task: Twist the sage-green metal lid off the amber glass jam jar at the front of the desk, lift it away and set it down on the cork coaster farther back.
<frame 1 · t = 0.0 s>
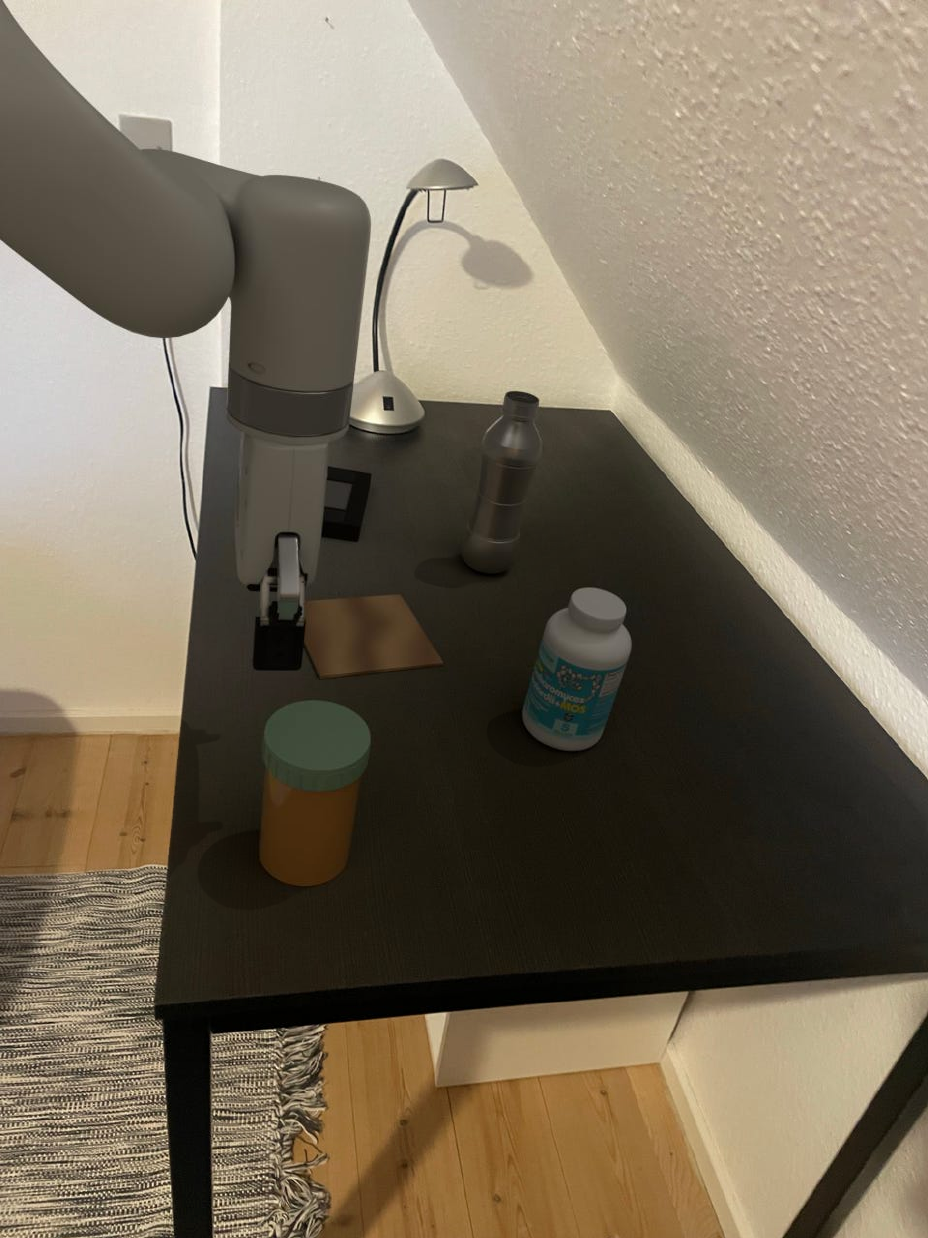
hand: (272, 626, 67), 13 cm above the table, tool pointing down, fingers open, 9 cm apart
jam jar: (304, 851, 68), on the table
jam lid: (317, 738, 62), point 11 cm above the table, screwed on, not yet turned
plastic bottle: (485, 567, 107), on the table
coaster: (362, 635, 91), on the table
pill bottle: (560, 729, 85), on the table
vhs tape: (332, 509, 112), on the table
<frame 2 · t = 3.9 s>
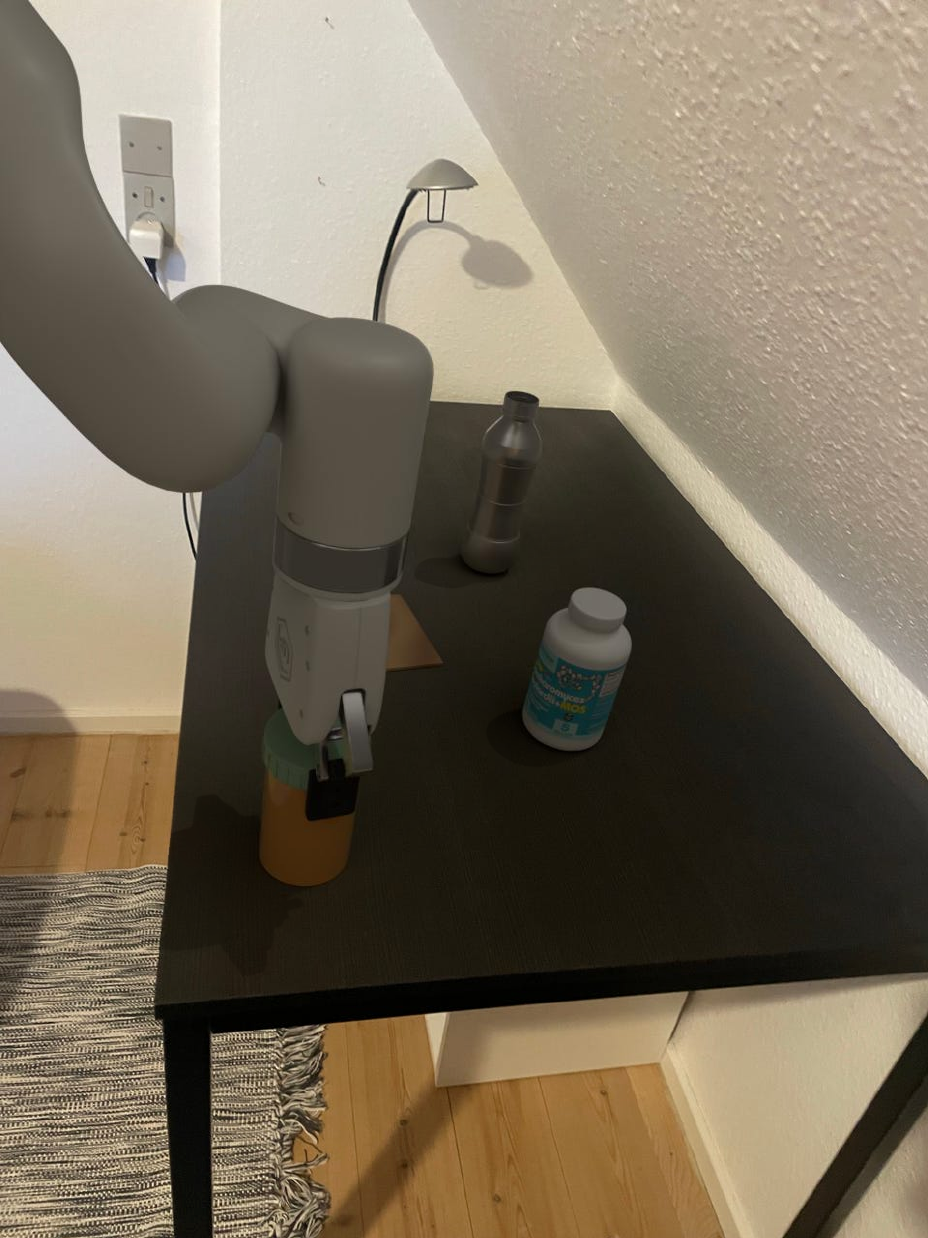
hand: (313, 772, 63), 8 cm above the table, tool pointing down, fingers closed on jam lid, 7 cm apart
jam lid: (317, 738, 62), point 11 cm above the table, screwed on, not yet turned, touching gripper
everything else where it was.
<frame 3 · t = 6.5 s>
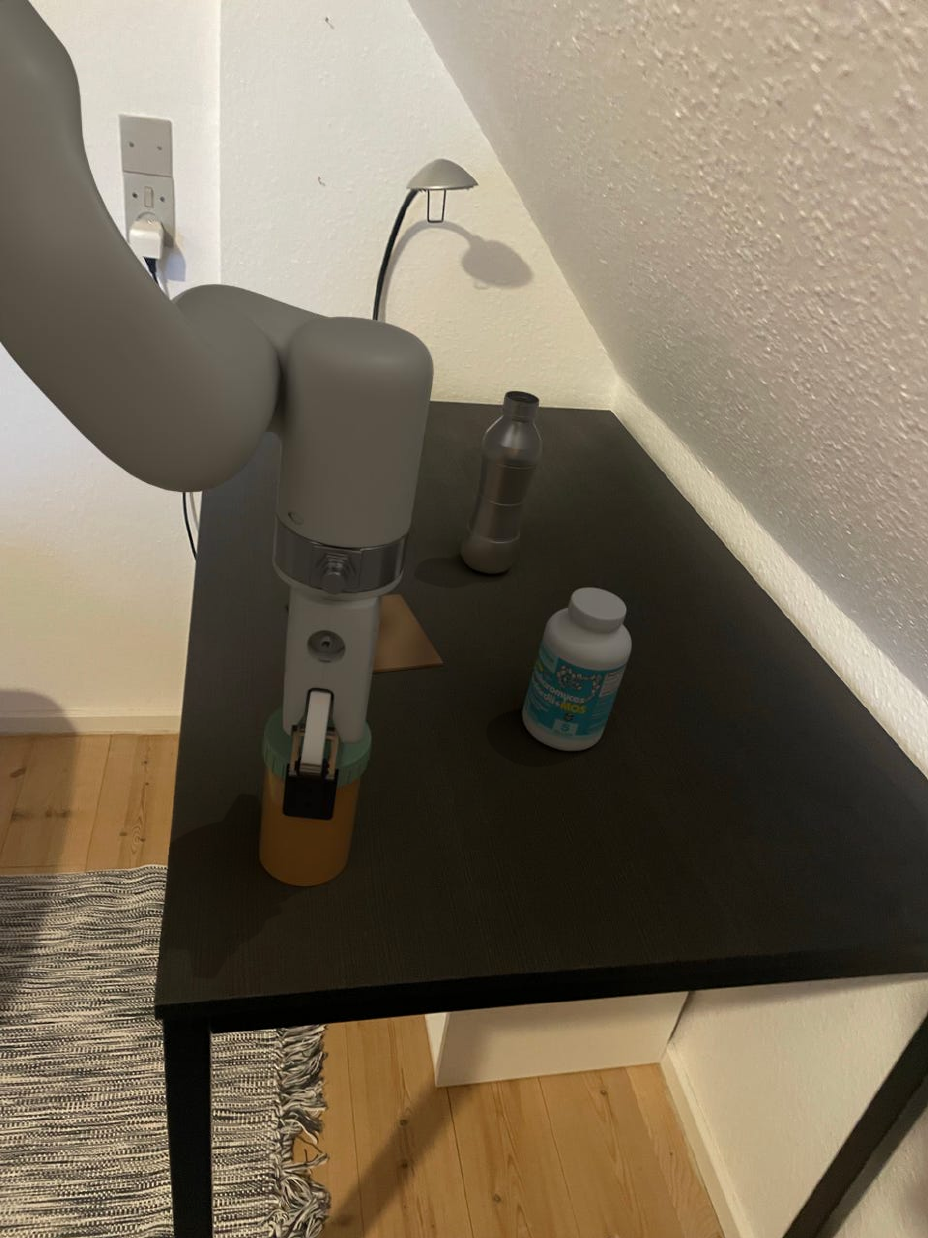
hand: (314, 772, 63), 8 cm above the table, tool pointing down, fingers closed on jam lid, 6 cm apart
jam lid: (318, 736, 62), point 11 cm above the table, off its thread, touching gripper
everything else where it was.
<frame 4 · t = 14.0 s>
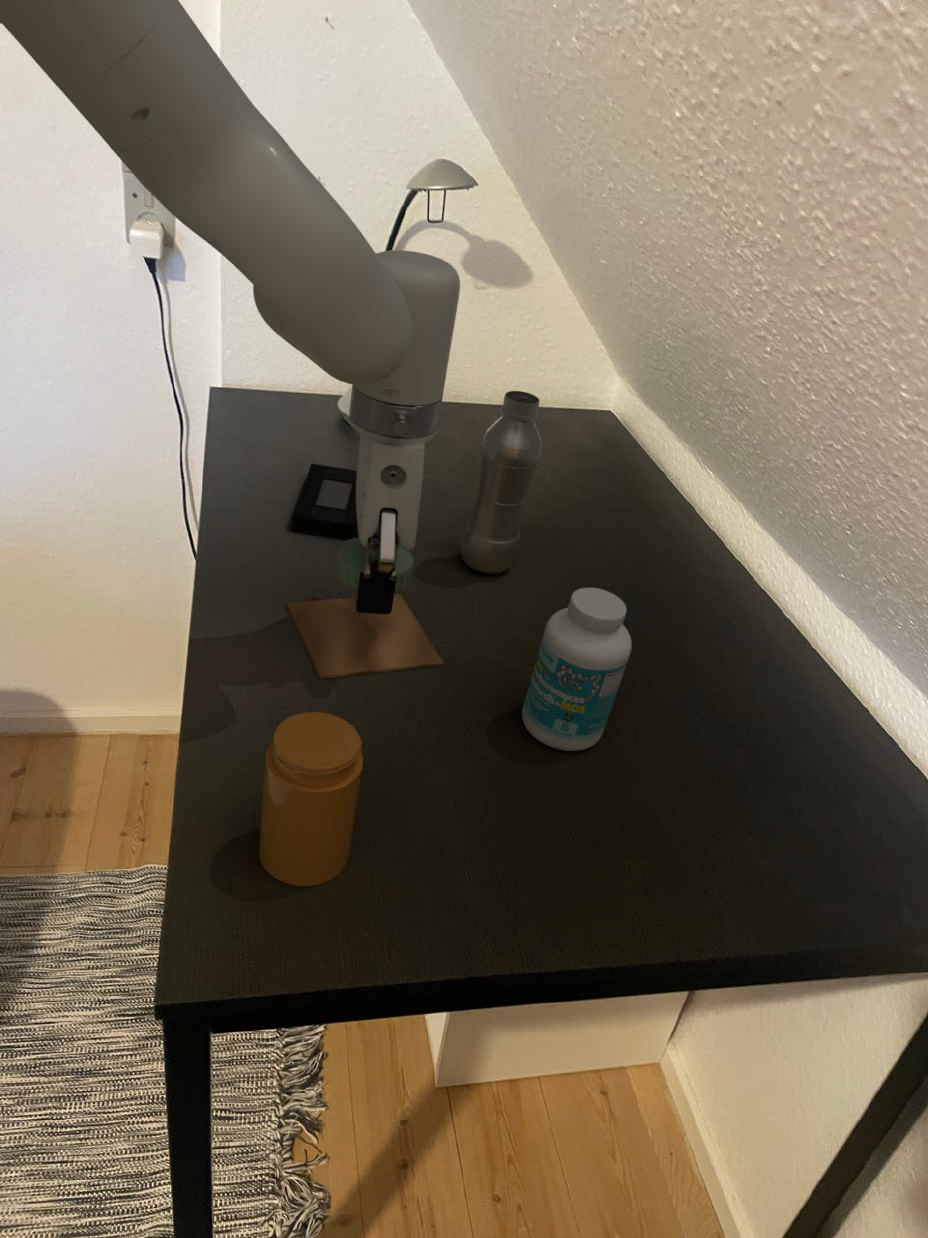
hand: (371, 587, 89), 5 cm above the table, tool pointing down, fingers closed on jam lid, 6 cm apart
jam lid: (375, 558, 87), point 9 cm above the table, off its thread, touching gripper
everything else where it was.
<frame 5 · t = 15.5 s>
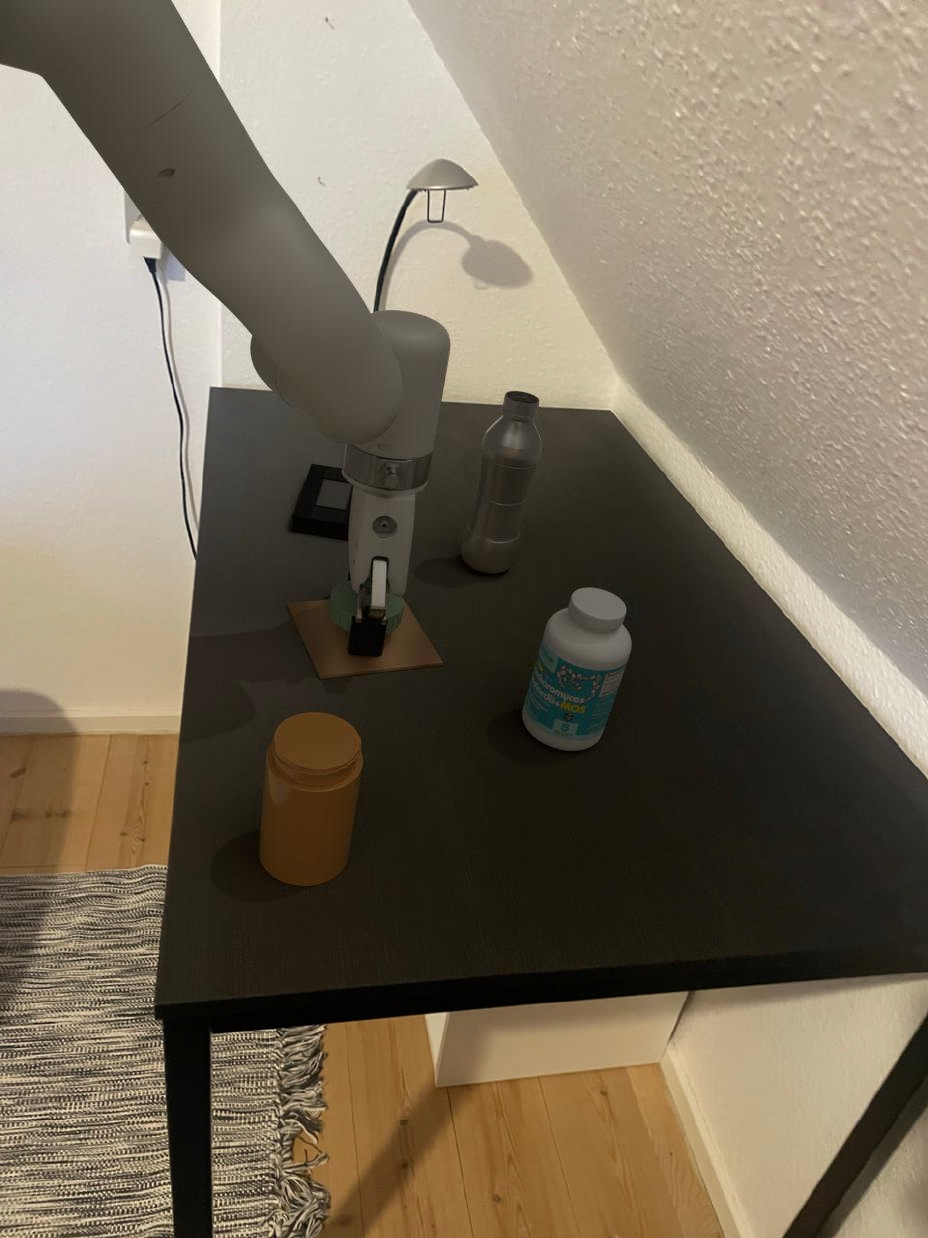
hand: (362, 629, 91), 1 cm above the table, tool pointing down, fingers closed on jam lid, 6 cm apart
jam lid: (367, 602, 89), point 4 cm above the table, off its thread, touching gripper
everything else where it was.
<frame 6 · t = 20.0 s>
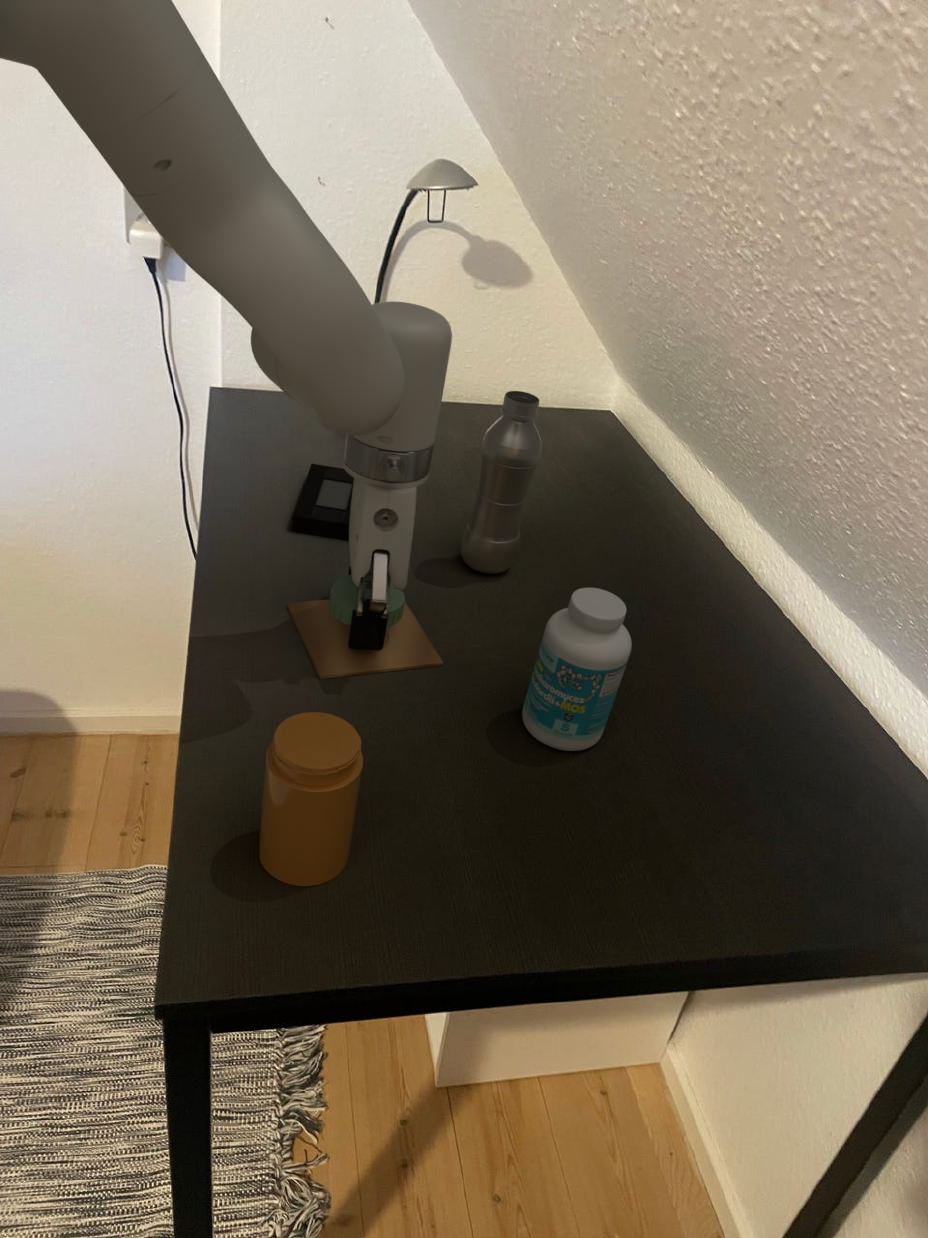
hand: (363, 623, 90), 1 cm above the table, tool pointing down, fingers closed on jam lid, 6 cm apart
jam lid: (367, 596, 89), point 5 cm above the table, off its thread, touching gripper
everything else where it was.
when the fingers open (1 cm above the table, at t = 24.3 s): jam lid drops 3 cm, resting on coaster.
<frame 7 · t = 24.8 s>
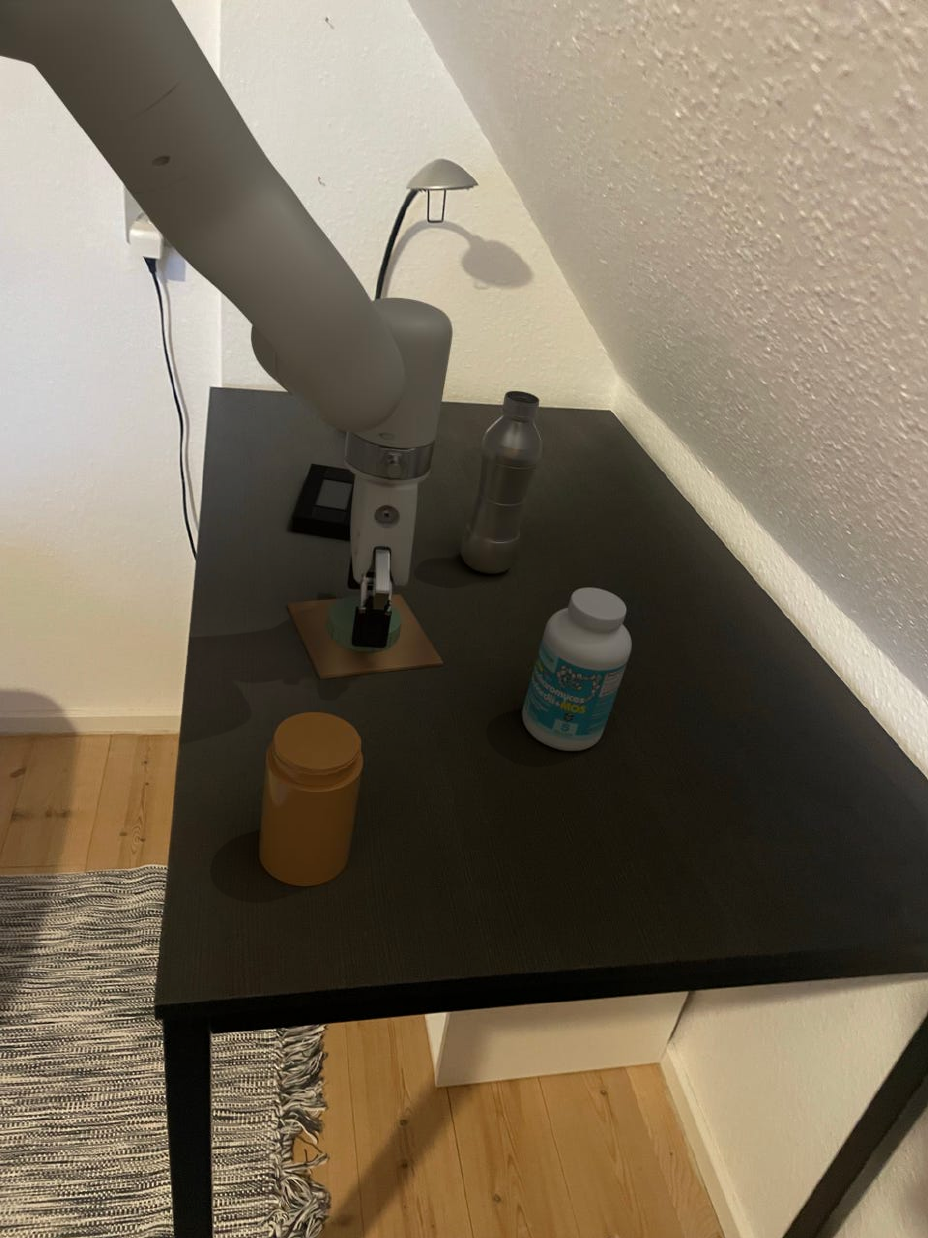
hand: (365, 615, 90), 2 cm above the table, tool pointing down, fingers open, 9 cm apart
jam lid: (365, 618, 90), point 2 cm above the table, off its thread, touching coaster
everything else where it was.
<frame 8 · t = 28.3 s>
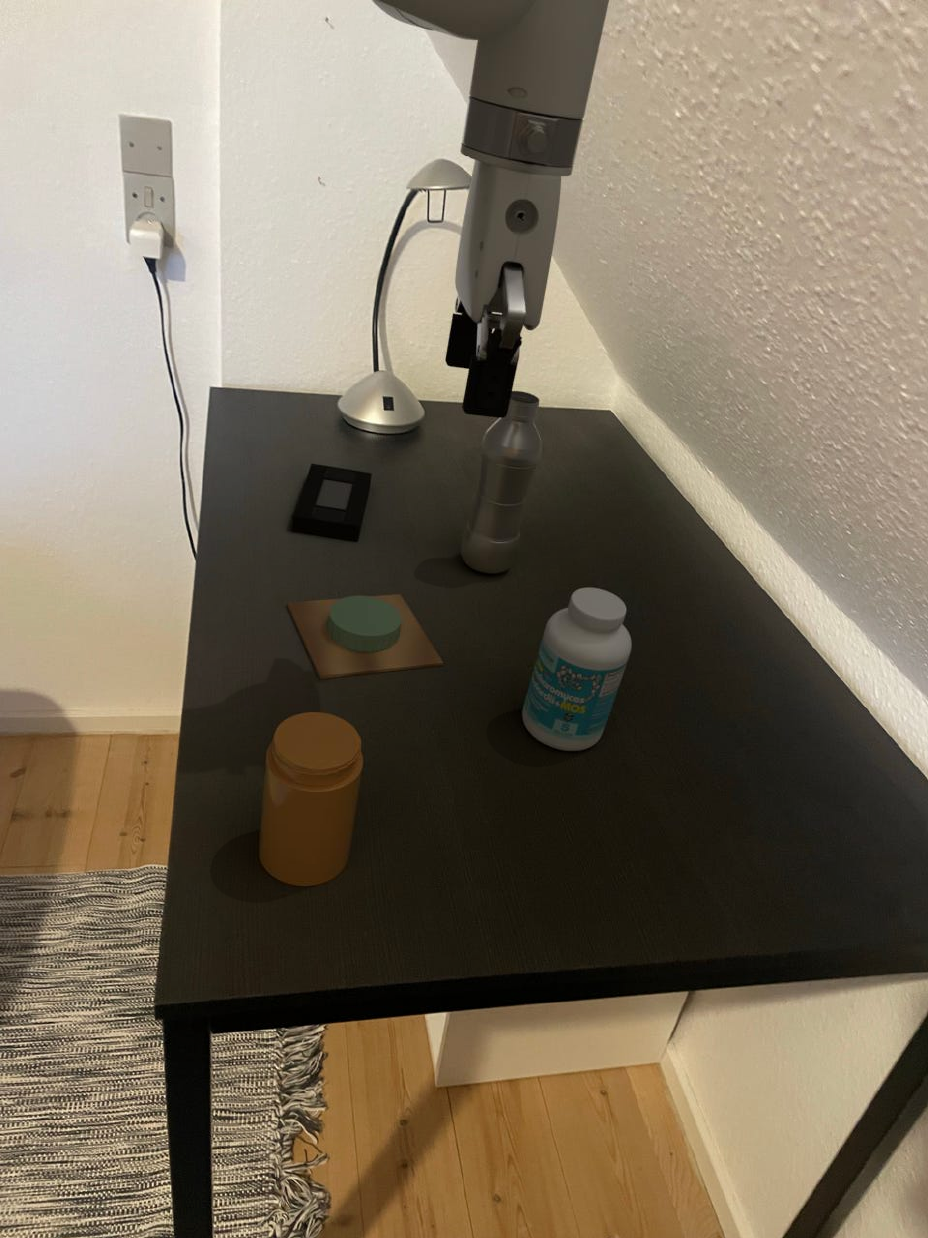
hand: (473, 389, 71), 28 cm above the table, tool pointing down, fingers open, 9 cm apart
nothing on the table moved.
at the end: jam lid came off its thread; jam lid inside the target area on the coaster (0.1 cm from its centre), point 1.9 cm above the coaster's base; the gripper is holding nothing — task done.
